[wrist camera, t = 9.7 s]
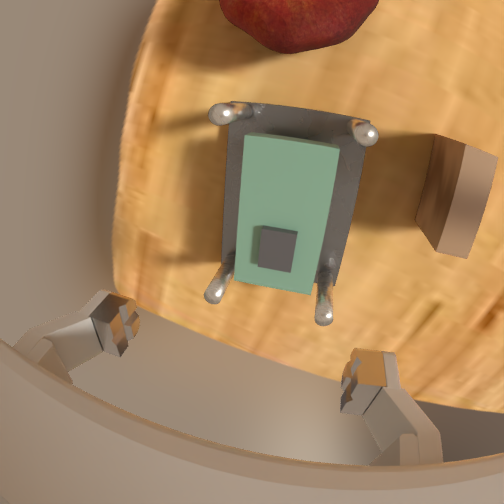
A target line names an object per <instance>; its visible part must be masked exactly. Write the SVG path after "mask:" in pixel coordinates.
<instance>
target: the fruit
mask: <svg viewBox="0 0 504 504" xmlns="http://www.w3.org/2000/svg"><path fill="white" fill-rule="evenodd" d="M219 1H220V6H221V9H222V11H223V13H224V15H225V17H226V18H227V19H228V20H229V21H230V22H231V23H232V24H234V25H235V26H237V27H239V28H240V29H242V30H244V31H245V32H246V33H248V34H249V35H251V36H252V37H253V38H255V39H256V40H257V41H258V42H260V43H261V44H262V45H264V46H265V47H267V48H269V49H271V50H273V51H276V52H279V53H284V54H294V53H298V52H303V51H309V50H314V49H319V48H324V47H328V46H332V45H336V44H339V43H341V42H343V41H345V40H347V39H349V38H350V37H351V36H353V34H354V33H355V32H356V31H357V30H358V29H359V28H360V26H361V25H362V24H363V23H364V21H365V20H366V19H367V18H368V16H369V15H370V14H371V13H372V12H373V10H374V9H375V8H376V6H377V4H378V2H379V0H219Z"/></svg>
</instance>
